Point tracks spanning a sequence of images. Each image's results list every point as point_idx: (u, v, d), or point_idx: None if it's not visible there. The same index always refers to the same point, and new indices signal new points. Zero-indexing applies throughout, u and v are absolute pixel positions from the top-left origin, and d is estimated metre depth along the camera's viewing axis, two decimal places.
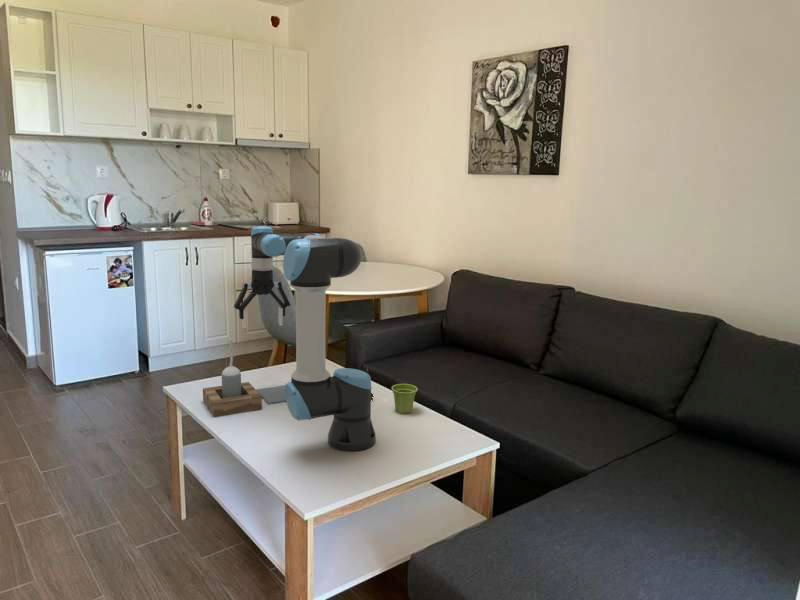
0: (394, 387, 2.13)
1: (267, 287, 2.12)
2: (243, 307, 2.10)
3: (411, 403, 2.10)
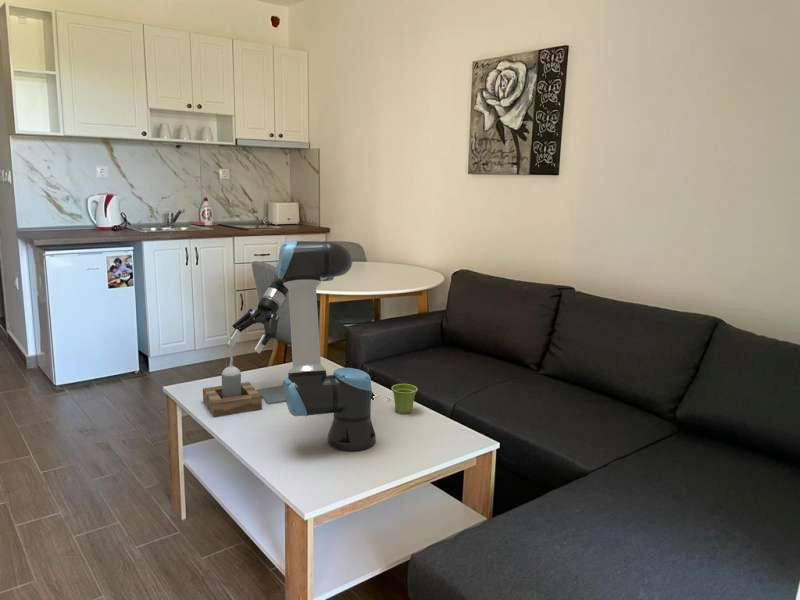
0: (394, 387, 2.13)
1: (262, 313, 2.20)
2: (237, 326, 2.22)
3: (411, 403, 2.10)
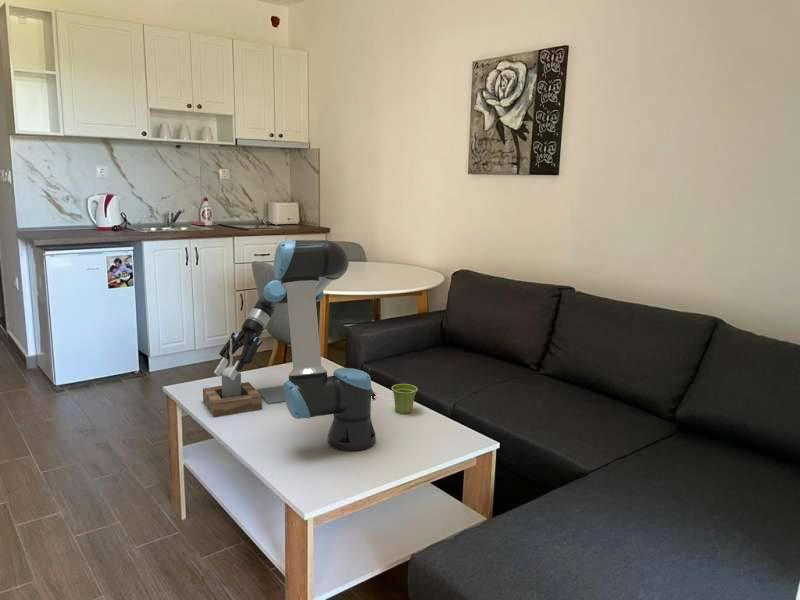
0: (394, 387, 2.13)
1: (246, 335, 2.14)
2: (224, 354, 2.13)
3: (411, 403, 2.10)
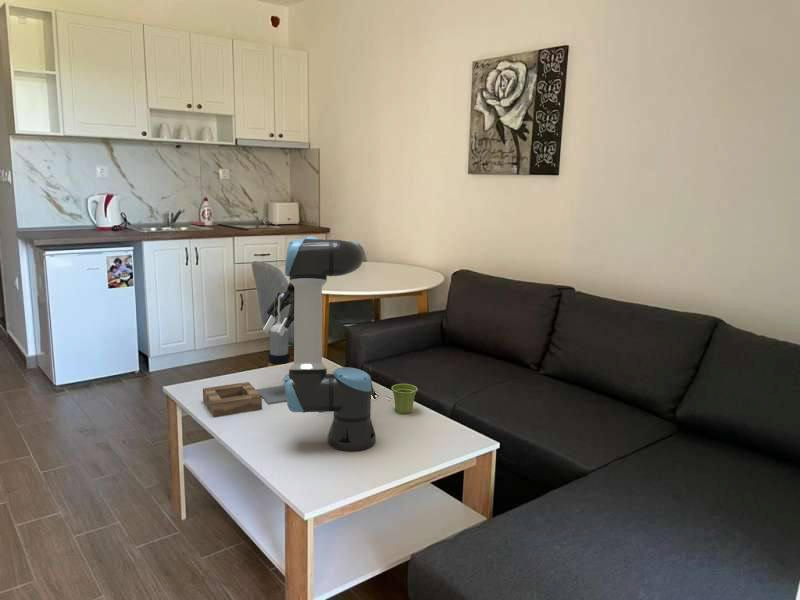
0: (394, 387, 2.13)
1: (292, 294, 2.23)
2: (272, 312, 2.22)
3: (411, 403, 2.10)
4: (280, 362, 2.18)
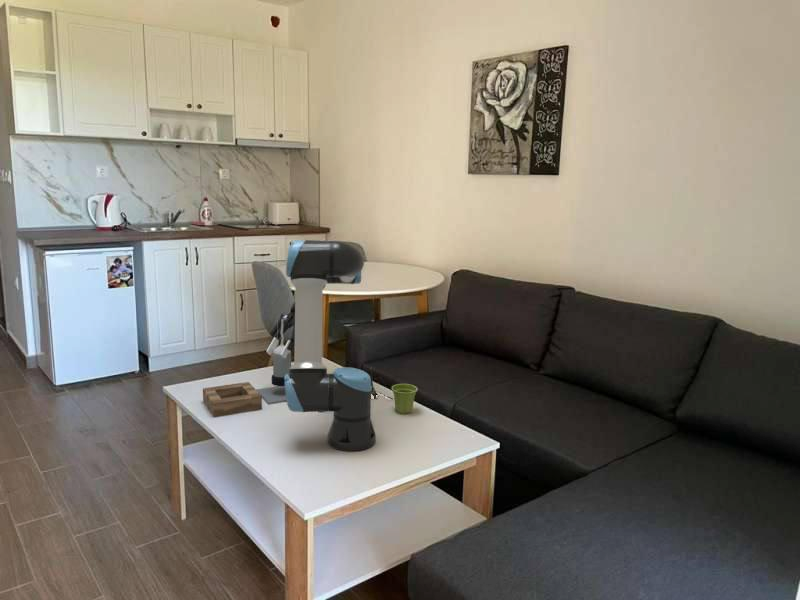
0: (394, 387, 2.13)
1: None
2: (275, 334, 2.25)
3: (411, 403, 2.10)
4: (283, 384, 2.21)
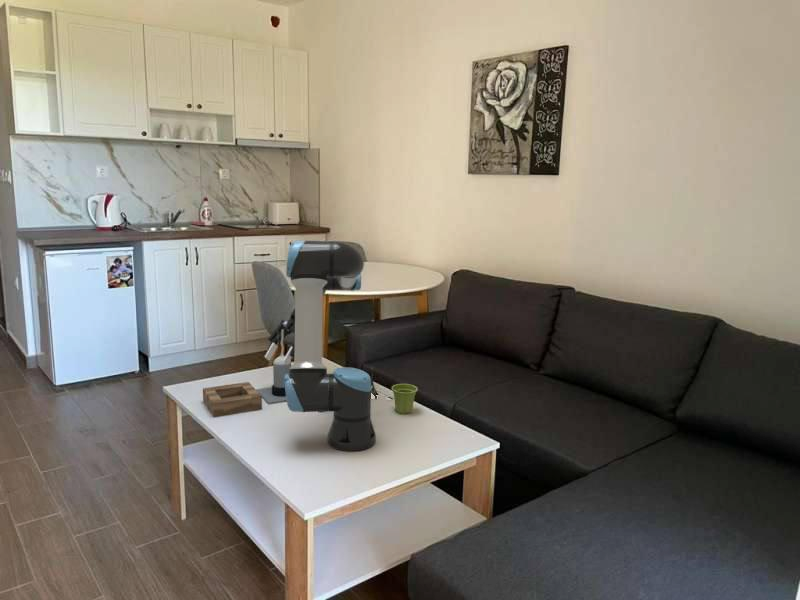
0: (394, 387, 2.13)
1: None
2: (273, 339, 2.25)
3: (411, 403, 2.10)
4: (283, 394, 2.21)
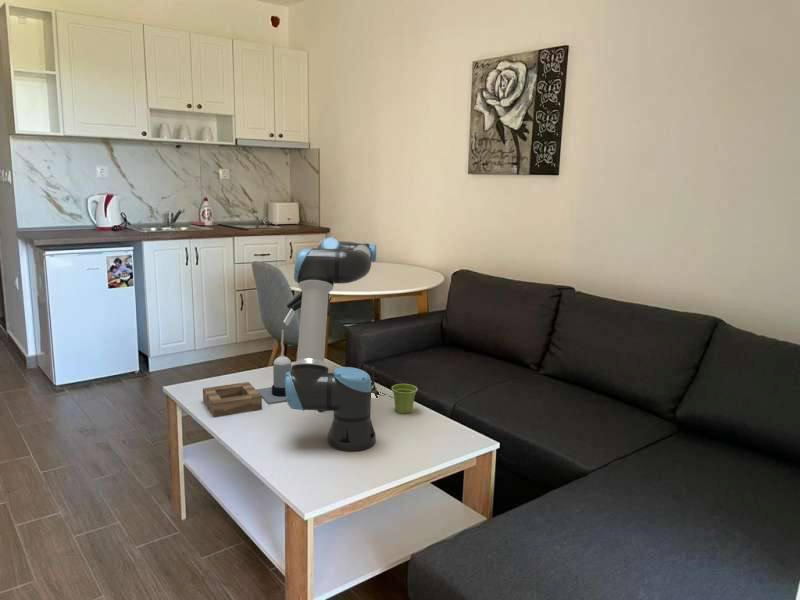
0: (394, 387, 2.13)
1: None
2: (292, 306, 2.36)
3: (411, 403, 2.10)
4: (283, 394, 2.21)
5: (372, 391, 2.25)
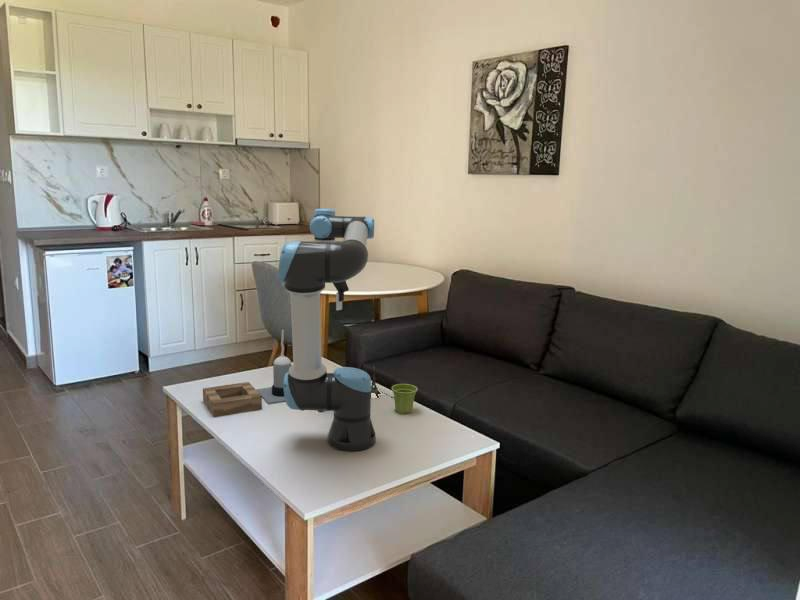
0: (394, 387, 2.13)
1: None
2: None
3: (411, 403, 2.10)
4: (283, 394, 2.21)
5: (373, 391, 2.25)
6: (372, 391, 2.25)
